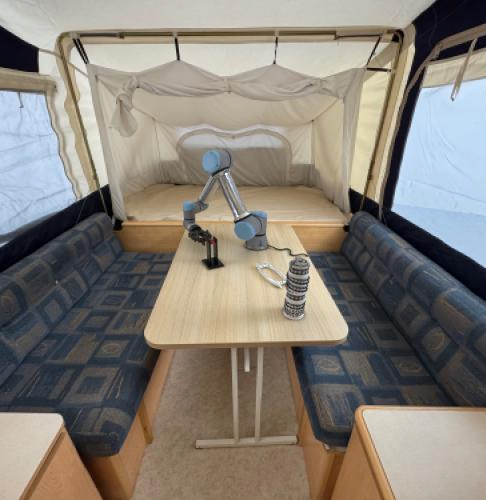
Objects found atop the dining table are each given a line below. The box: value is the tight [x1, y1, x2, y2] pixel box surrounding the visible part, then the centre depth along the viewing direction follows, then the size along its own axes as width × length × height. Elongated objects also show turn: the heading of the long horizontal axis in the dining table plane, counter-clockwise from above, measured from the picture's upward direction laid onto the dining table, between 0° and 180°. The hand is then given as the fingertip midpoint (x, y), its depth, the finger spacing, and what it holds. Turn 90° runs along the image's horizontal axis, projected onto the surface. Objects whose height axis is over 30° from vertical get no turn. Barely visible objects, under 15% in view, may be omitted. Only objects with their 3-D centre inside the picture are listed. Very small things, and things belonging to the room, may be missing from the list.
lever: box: [201, 236, 215, 245], centre depth 151 cm, size 15×4×4 cm, turn 27°
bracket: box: [201, 235, 225, 271], centre depth 148 cm, size 11×9×16 cm
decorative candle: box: [283, 256, 311, 321], centre depth 106 cm, size 9×9×25 cm
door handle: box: [255, 261, 287, 289], centre depth 139 cm, size 3×10×25 cm
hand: (208, 242), depth 151 cm, fingers closed on lever, 4 cm apart
